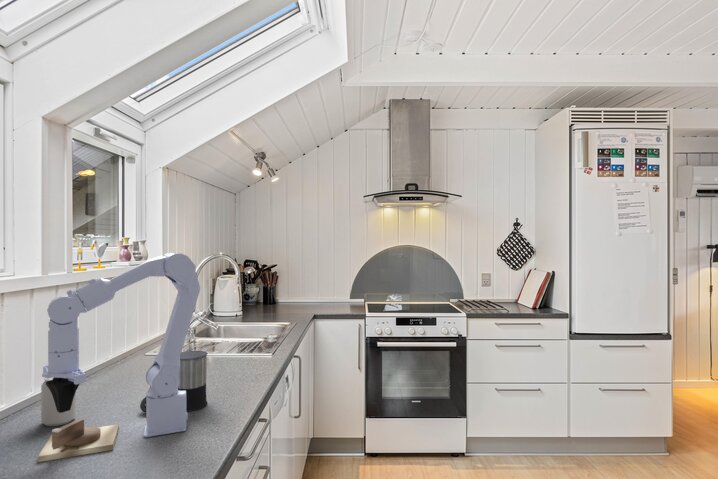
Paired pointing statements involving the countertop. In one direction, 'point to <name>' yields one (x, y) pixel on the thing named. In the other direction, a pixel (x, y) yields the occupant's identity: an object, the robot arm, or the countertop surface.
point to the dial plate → (98, 445)
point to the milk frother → (191, 380)
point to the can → (54, 408)
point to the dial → (74, 434)
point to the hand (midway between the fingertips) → (63, 411)
